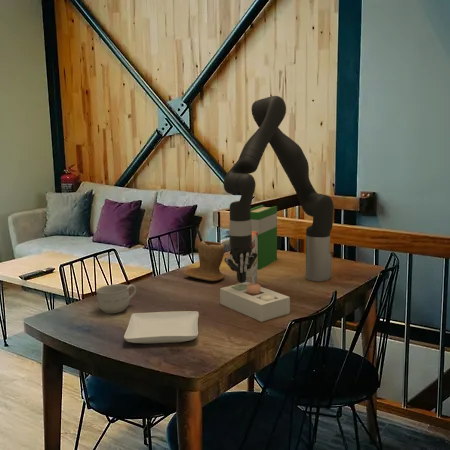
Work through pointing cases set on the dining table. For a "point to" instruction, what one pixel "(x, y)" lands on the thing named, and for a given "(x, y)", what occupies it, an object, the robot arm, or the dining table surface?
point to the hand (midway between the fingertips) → (241, 282)
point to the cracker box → (252, 272)
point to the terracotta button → (253, 289)
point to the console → (255, 303)
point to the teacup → (114, 297)
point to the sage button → (240, 287)
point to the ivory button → (267, 297)
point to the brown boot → (208, 262)
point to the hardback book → (265, 233)
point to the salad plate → (162, 327)
